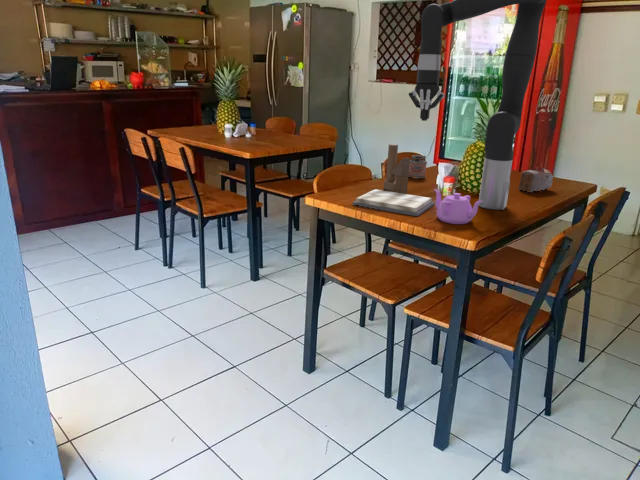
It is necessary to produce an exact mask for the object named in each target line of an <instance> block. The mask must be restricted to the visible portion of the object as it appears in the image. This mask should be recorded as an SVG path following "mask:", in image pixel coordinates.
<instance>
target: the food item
mask: <svg viewBox="0 0 640 480" xmlns="http://www.w3.org/2000/svg"><path fill="white" fill-rule="evenodd" d="M553 178H554V175H553V174H552V172H551V171H550V170H548V169H545V168H544V167H539V166H532V167H531V168H530V169H529V170H523V171H522V172H521V174H520V180H519V183H518V188H517V189H519V190H518V191H520V190H524V191H529V192H531V193H534V192H533V191H536V192H537V191H539V190H543V191H546V190H545V189H547V190H548V189H550V188H551V187H552V186H553ZM524 191H523V192H524Z"/></svg>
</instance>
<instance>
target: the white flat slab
mask: <svg viewBox="0 0 640 480" xmlns="http://www.w3.org/2000/svg"><path fill="white" fill-rule="evenodd" d="M355 201H356V202H358V203H364V204H369V205H375V206H381V207H387V208H393V209H399V210H405V211H411V212H417V211H419V210H420V209H422V208H423V207H424V203H422V202H415V201H409V200H403V199H397V198H390V197H384V196H378V195H371V194H366V193H364V194H362V195H360V196H358V197H356V198H355Z"/></svg>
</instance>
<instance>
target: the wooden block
mask: <svg viewBox="0 0 640 480" xmlns="http://www.w3.org/2000/svg"><path fill="white" fill-rule="evenodd" d="M398 149H399V145H398V144H396V143H389V144H388V151H387V160H386V161H387V162H386V163H387V165H386V174H385V175H386V179H384V180H383V189H384V191H389V192H396V193H402V194H408V185H409V184H408V183H409V178H408V176H409V165H410V160H411V158H410V157H403V158H402V159H401V160H400V161H399V162H398V161H397V160H398Z"/></svg>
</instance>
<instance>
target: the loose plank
mask: <svg viewBox="0 0 640 480" xmlns="http://www.w3.org/2000/svg"><path fill="white" fill-rule="evenodd" d="M365 194H371V195H378V196H384V197H390V198H397V199H403V200H409V201H415V202H422V203H424V207H425V206H426V205H428V204H429V203H431V201H432V199H433V198H432V197H427V196H422V195H421V196H420V195H415V194H408V193H407V194H402V193H396V192H391V191H388V190H382V189H376V188H375V189H372V190H370V191H368V192H366V193H365Z"/></svg>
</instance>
